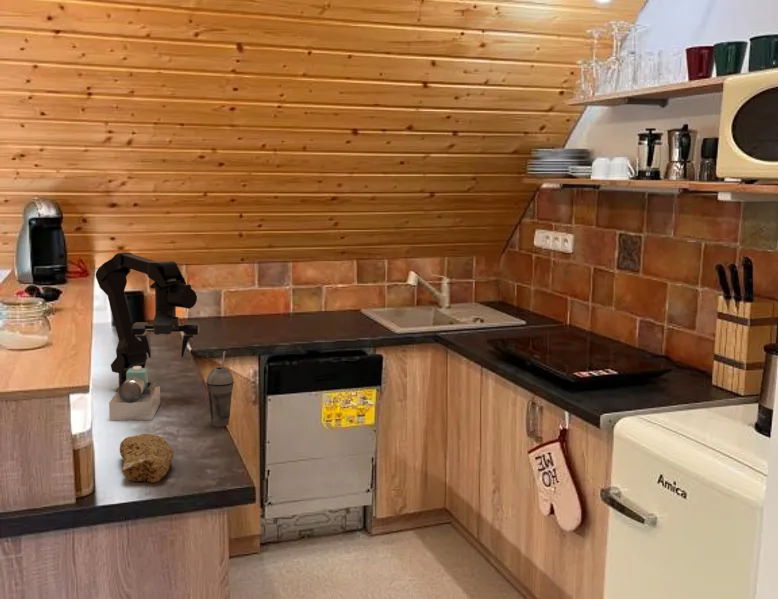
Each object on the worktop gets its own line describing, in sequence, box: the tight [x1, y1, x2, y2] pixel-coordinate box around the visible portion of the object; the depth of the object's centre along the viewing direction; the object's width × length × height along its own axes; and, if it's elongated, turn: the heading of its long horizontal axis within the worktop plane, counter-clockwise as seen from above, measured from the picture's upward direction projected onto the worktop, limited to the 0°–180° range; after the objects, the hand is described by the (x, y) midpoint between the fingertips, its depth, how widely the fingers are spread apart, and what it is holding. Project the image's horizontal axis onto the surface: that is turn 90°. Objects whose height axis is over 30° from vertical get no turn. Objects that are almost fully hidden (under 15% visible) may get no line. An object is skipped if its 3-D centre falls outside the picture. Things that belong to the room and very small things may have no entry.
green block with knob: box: [126, 366, 149, 389], centre depth 216 cm, size 5×5×7 cm
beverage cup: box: [205, 350, 235, 428], centre depth 204 cm, size 7×7×20 cm
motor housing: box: [108, 376, 161, 421], centre depth 213 cm, size 16×11×11 cm
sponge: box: [119, 433, 175, 483], centre depth 172 cm, size 13×8×20 cm
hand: (166, 357), depth 224 cm, fingers open, 9 cm apart
